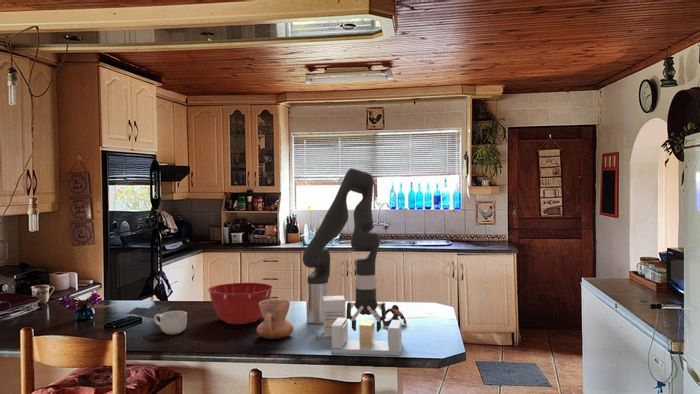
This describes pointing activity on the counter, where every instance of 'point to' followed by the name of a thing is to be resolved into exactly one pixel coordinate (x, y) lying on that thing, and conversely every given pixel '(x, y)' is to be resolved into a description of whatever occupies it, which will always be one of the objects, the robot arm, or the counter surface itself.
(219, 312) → the mixing bowl
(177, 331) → the teacup
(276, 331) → the ceramic jug
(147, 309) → the dark slate chunk
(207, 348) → the counter surface
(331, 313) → the supplement box
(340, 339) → the jaw
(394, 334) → the vise
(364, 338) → the block
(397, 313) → the dark brown curved loop
